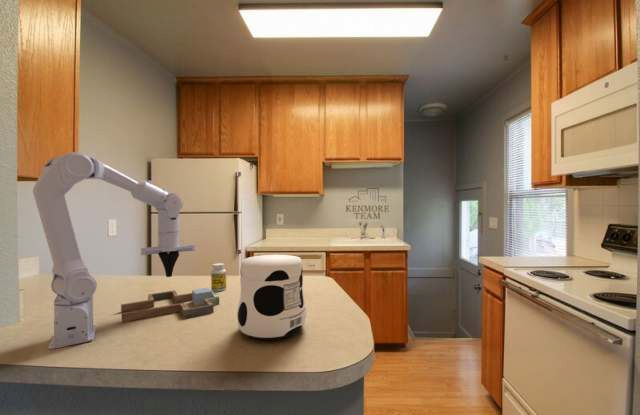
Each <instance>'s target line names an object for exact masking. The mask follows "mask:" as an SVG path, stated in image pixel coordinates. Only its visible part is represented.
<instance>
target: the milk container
mask: <svg viewBox="0 0 640 415" xmlns="http://www.w3.org/2000/svg"><path fill="white" fill-rule="evenodd" d="M239 269H240V277H239V278H240V281H239V282H240V297H239V301H238V304H237V310H236V320H237V325H238V329H239V330H240V332H241V334H243V335H246V336H247V337H249V338H251V339H256V340H262V341H263V340H264V341H265V340H267V341H271V340H278V339H284V338H287V337H290V336H293V335H294V334H297V333H299V331H300V330H302V328H303V327H304V325H305V324H306V323H305V322H306V318H307V306H306V301H305V297H304V293H303V292H304V291H303V290H304V289H303V286H304V285H303V278H304V276H303V262H302V258H301V257H299V256H296V255H292V254H291V255H289V254H262V255H261V254H260V255H254V256H250V257H246V258H243V259H242V260H241V263H240V268H239Z"/></svg>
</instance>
